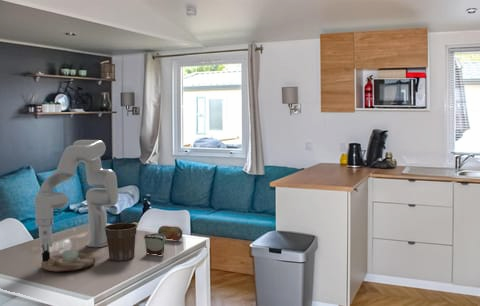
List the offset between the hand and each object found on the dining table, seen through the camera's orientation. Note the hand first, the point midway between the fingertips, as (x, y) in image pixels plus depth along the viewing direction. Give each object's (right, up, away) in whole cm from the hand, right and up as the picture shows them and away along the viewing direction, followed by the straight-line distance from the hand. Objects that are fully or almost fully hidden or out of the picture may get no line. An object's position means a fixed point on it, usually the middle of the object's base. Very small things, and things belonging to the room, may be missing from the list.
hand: (46, 260), depth 214 cm
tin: (+50, 0, +50) cm, 71 cm away
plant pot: (+31, -3, +17) cm, 35 cm away
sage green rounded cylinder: (+10, -1, +4) cm, 11 cm away
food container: (+48, -2, +24) cm, 53 cm away
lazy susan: (+9, -2, +5) cm, 10 cm away
